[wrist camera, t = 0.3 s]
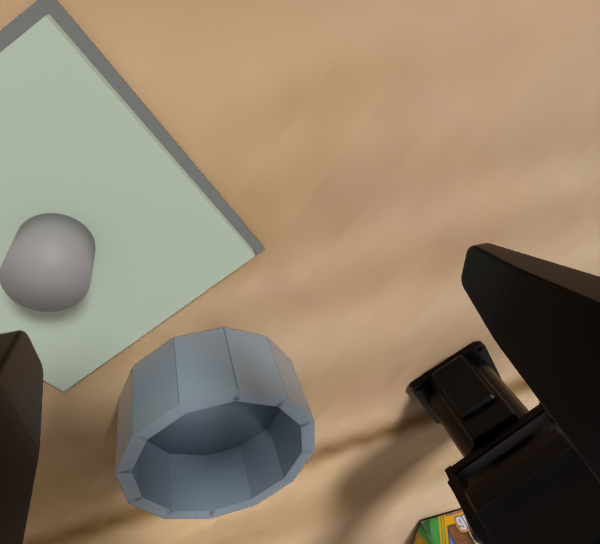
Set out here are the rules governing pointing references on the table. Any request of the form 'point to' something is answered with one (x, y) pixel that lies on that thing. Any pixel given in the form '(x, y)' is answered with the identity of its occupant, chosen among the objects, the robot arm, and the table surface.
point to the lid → (93, 213)
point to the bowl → (211, 425)
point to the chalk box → (445, 530)
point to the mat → (51, 6)
